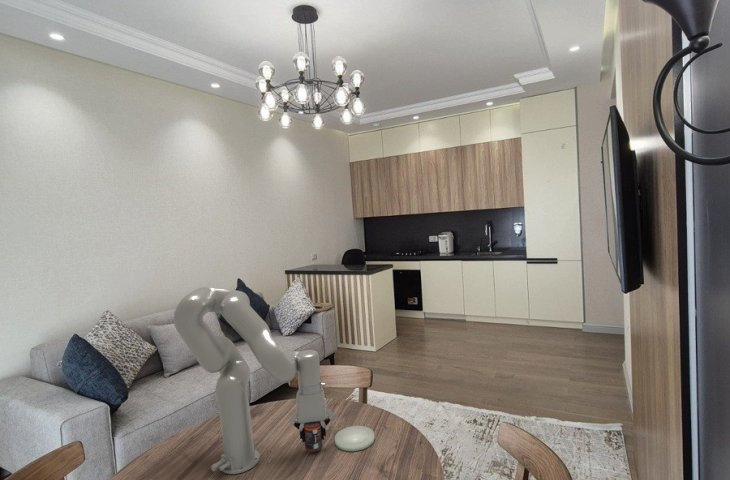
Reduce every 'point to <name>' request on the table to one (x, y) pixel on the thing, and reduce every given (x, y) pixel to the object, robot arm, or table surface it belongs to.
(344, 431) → the dish
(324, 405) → the robot arm
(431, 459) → the table surface
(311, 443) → the supplement bottle
